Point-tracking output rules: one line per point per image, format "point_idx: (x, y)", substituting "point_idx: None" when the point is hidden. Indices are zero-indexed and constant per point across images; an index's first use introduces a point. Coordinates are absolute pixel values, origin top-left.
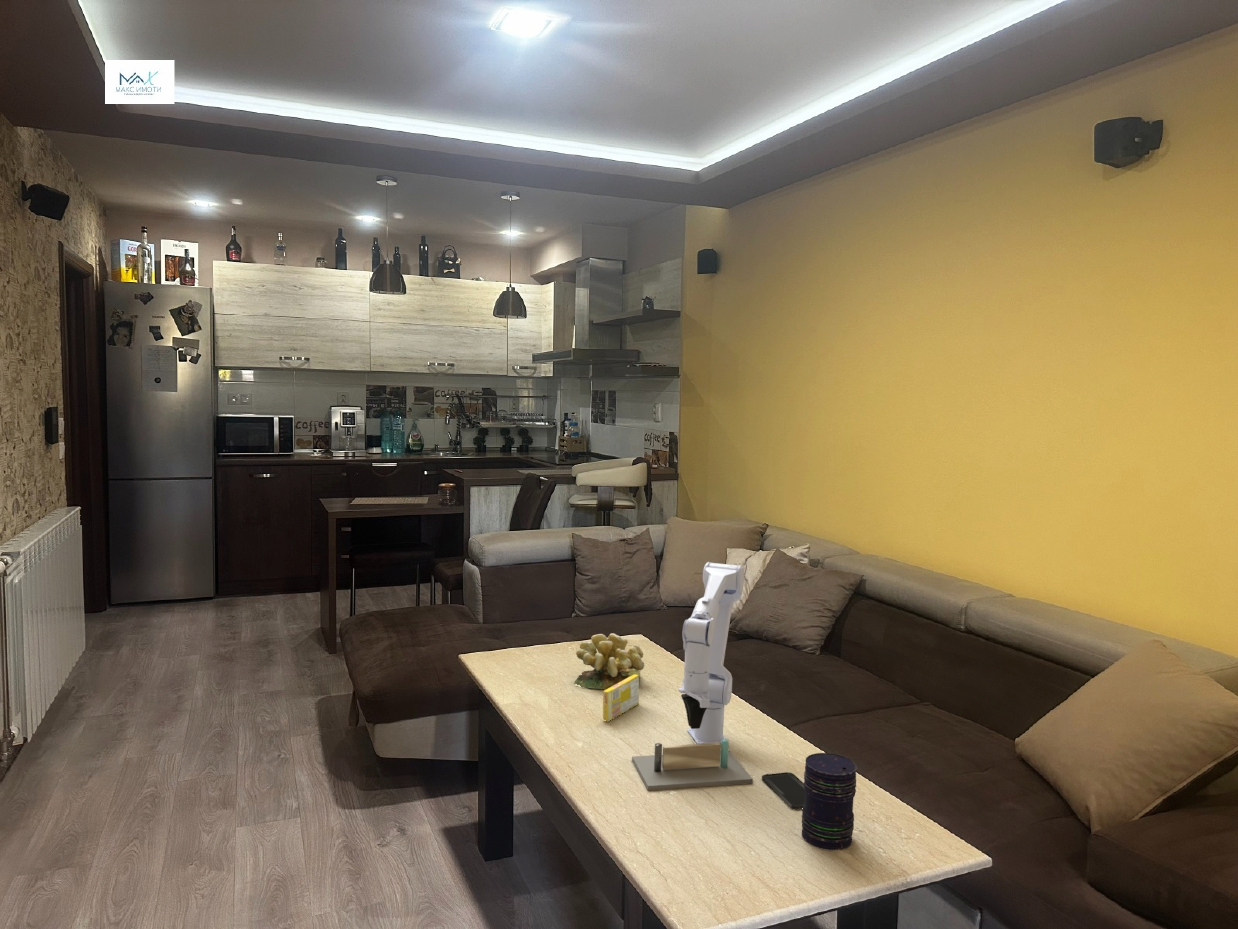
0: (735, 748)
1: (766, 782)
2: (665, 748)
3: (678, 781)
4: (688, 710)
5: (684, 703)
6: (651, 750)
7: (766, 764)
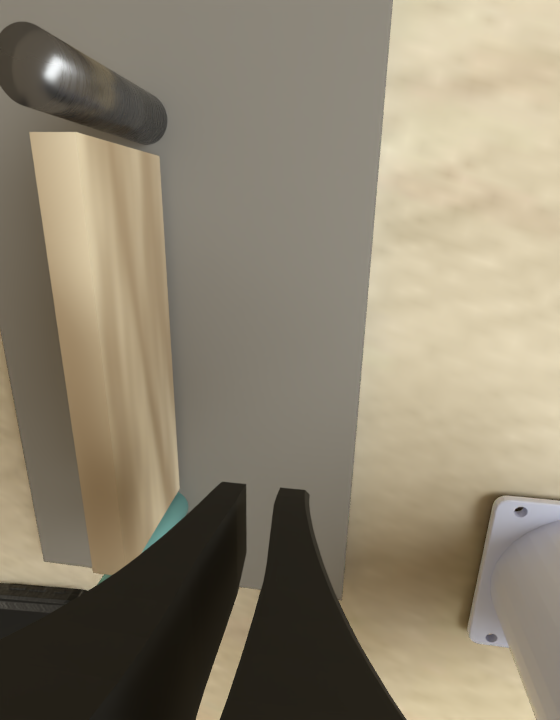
0: (408, 634)
1: (41, 594)
2: (32, 144)
3: (5, 213)
4: (146, 608)
5: (338, 674)
6: (525, 189)
7: (222, 666)
